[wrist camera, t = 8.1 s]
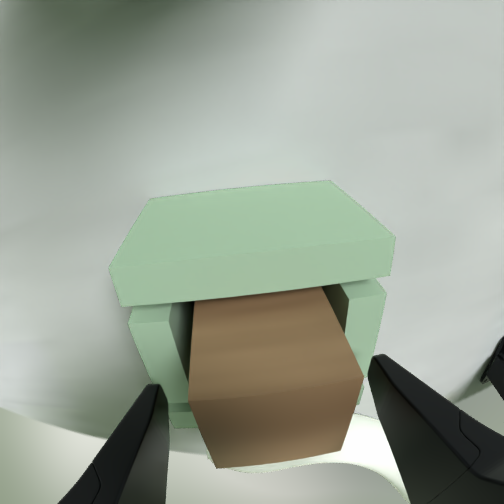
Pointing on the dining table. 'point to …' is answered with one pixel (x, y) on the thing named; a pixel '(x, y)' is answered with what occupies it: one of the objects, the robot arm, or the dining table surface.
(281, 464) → the banana
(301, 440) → the walnut peg
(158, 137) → the dining table surface
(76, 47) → the dining table surface
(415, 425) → the robot arm
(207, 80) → the dining table surface
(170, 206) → the green open frame
